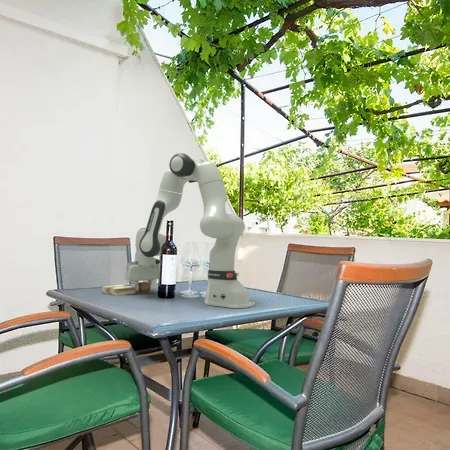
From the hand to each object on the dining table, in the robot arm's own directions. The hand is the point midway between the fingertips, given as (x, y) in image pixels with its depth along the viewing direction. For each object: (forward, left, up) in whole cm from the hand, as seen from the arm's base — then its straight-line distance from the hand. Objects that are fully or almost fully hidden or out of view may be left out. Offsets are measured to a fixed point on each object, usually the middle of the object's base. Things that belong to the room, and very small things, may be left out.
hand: (143, 289), depth 204 cm
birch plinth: (+7, +9, -2) cm, 12 cm away
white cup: (+9, -12, -2) cm, 15 cm away
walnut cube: (0, 0, -2) cm, 2 cm away
